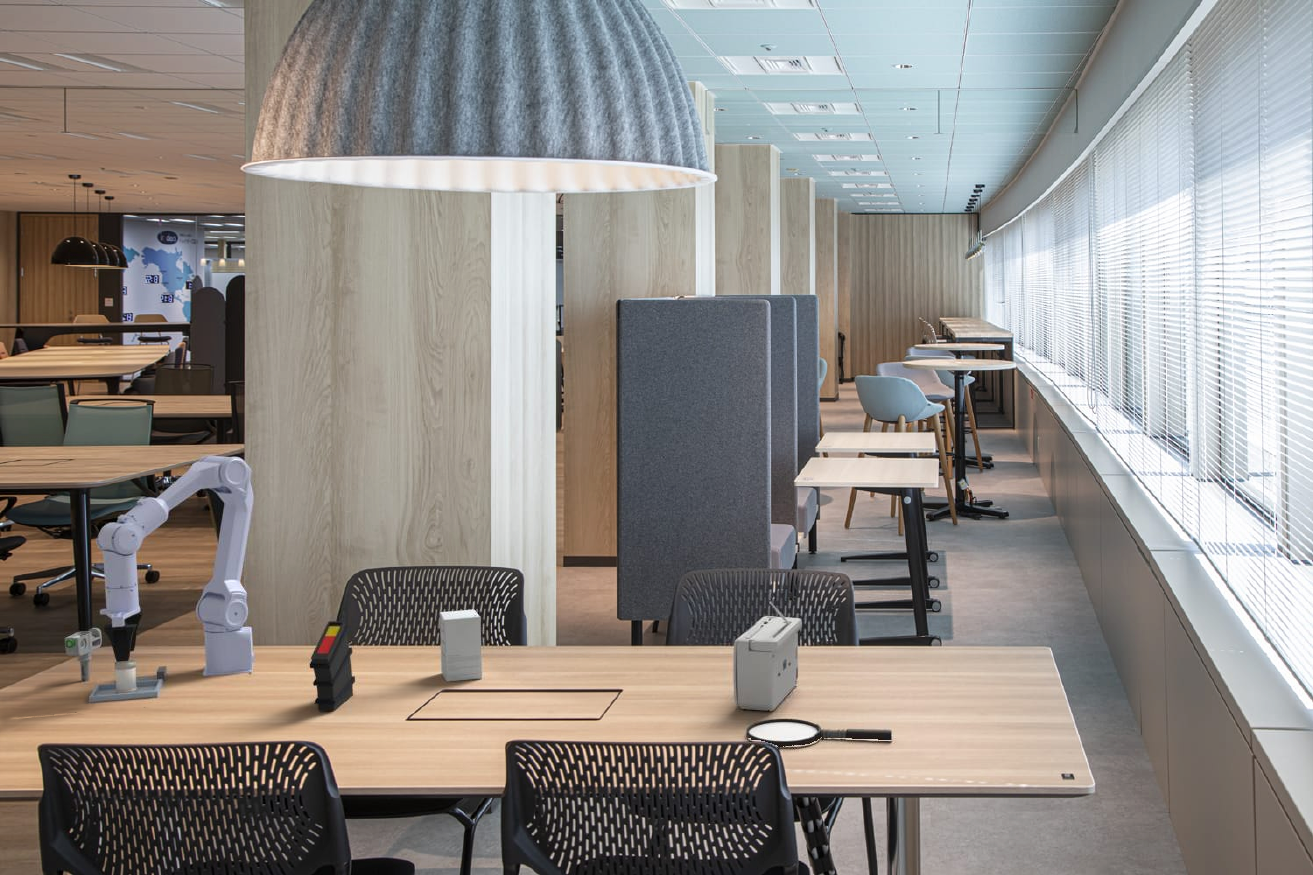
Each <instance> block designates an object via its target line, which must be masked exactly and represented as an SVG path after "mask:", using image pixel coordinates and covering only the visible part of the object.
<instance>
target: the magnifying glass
mask: <svg viewBox="0 0 1313 875" xmlns="http://www.w3.org/2000/svg"><path fill="white" fill-rule="evenodd" d="M892 732H893V731H892V729H871V728H869V729H866V728H847V729H841V728H840V729H829V728H827V729H825V728H821V725H819V724H818V723H813V722H812V721H811V722H810V721H808V720H804V719H803V720H802V719H797V718H771V719H765V720H760V721H756V722H754V723H751V724H750V725H748V727H747V728H746V738H747V737H748V738H751V740H761V741H765V742H768V743H772V744H774V745H777V746H778V747H779V748H778V749H781V748H780V747H783V746H784V747H785V746H792V745H793V746H794V745H805V744H810V743H812V742H814V741H817V740H818V739H820V738H821V737H822V738H852V739H878V740H893V739H892V738H893V736H892ZM748 738H747V739H748Z"/></svg>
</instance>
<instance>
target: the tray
mask: <svg viewBox="0 0 1313 875" xmlns="http://www.w3.org/2000/svg"><path fill="white" fill-rule="evenodd" d="M163 684H164V681H163V679H159V680H146V681H136V686H137V692H133V693H121V694H116V682H111V683H109V682H108V683H97V684H95V686H94V688H93V689H92V691H91V692H90V694H89V696H88V703H89V704H93V703H104V702H116V701H117V702H118V701H129V700H142V699H152V698H153V699H154V698H156V699H157V698H158V697H159V695H160V693H161V690H162V688H163V686H164V685H163Z"/></svg>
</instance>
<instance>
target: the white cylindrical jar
mask: <svg viewBox="0 0 1313 875" xmlns="http://www.w3.org/2000/svg"><path fill="white" fill-rule="evenodd" d="M136 666H137V664H136V660H135V659H129V660H128V661H122V662H117V661H115V662H114V674H115V677H114V678H115V683H116V694H121V693H133V692H137V686H136V677H137V670H136V669H137V668H136Z"/></svg>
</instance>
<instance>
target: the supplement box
mask: <svg viewBox="0 0 1313 875" xmlns="http://www.w3.org/2000/svg"><path fill="white" fill-rule="evenodd" d="M481 626H482V625H481V616H480V615H479V614H478V612H477V611H476V610H475V609H465V610H463V609H462V610H454V611H452V610H451V611H440V612H439V628H440V629H439V630H440V659H441V660H440V662H441V664H440V665H441V673H442V676H443V678H444V679H445V682H447V683H448V682H455V681H456V682H457V681H468V680H469V681H470V680H479V679H483V664H482V663H483V662H482V661H483V660H482V635H481V634H482V633H481V632H482V631H481V630H482V629H481V628H482V627H481Z"/></svg>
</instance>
